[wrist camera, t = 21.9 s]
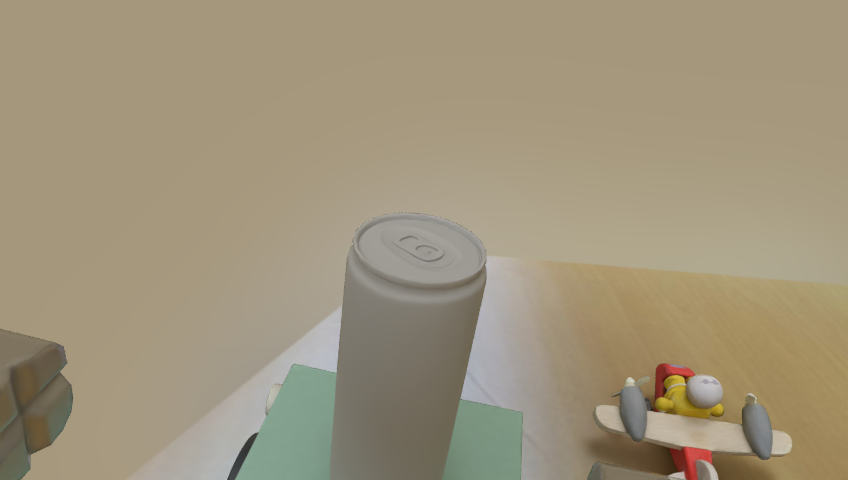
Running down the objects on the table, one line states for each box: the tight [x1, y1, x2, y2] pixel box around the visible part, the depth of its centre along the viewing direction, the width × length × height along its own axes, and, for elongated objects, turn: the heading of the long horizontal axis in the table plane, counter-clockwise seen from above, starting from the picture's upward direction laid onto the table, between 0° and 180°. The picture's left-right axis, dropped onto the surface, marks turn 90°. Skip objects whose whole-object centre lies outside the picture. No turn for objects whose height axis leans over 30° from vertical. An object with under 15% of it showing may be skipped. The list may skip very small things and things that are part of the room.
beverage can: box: [330, 213, 486, 480], centre depth 25 cm, size 5×5×12 cm
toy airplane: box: [593, 364, 793, 480], centre depth 39 cm, size 9×9×6 cm
